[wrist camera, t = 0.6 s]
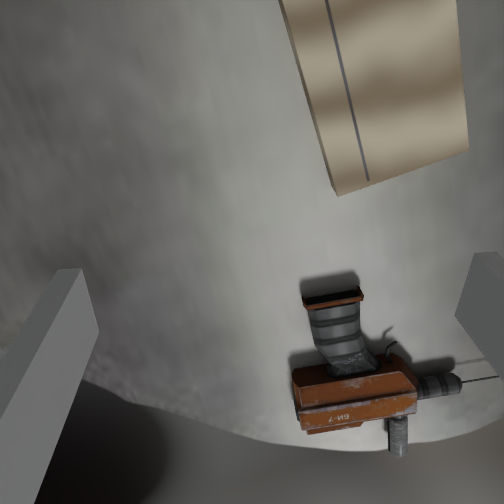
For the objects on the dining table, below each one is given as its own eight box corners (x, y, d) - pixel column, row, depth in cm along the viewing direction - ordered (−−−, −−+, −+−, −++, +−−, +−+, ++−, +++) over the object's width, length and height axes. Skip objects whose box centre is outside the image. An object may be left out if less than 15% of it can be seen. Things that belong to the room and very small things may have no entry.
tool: (277, 315, 44) (308, 481, 58) (531, 270, 43) (500, 450, 57) (273, 293, 48) (304, 455, 62) (508, 252, 46) (484, 426, 61)
